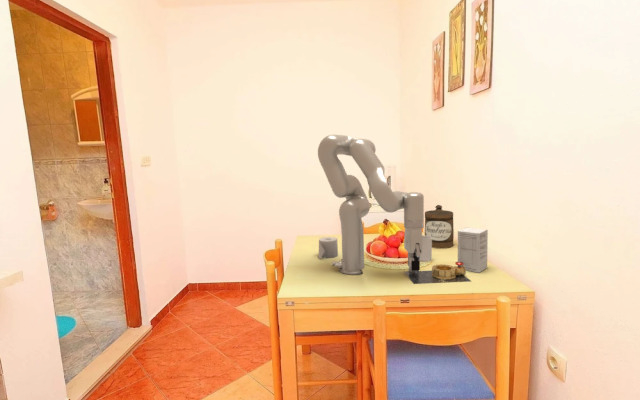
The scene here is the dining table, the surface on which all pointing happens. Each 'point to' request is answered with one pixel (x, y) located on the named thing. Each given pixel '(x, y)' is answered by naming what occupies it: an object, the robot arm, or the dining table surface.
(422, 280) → the fitting board
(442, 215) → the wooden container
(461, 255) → the supplement box
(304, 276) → the dining table surface
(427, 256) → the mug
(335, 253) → the toilet tissue
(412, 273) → the pipe stub
